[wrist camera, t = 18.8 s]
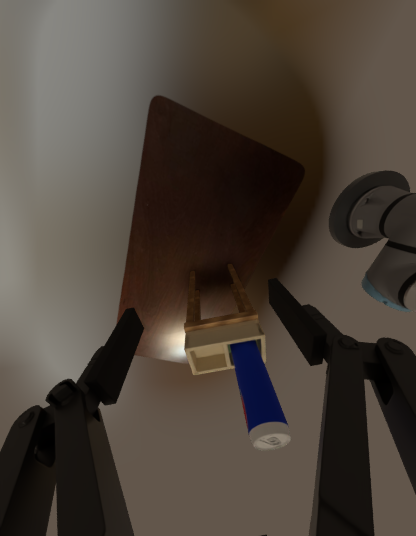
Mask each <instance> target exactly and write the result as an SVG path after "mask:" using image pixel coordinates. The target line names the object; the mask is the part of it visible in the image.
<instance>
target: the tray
mask: <svg viewBox="0 0 416 536" xmlns="http://www.w3.org/2000/svg"><path fill="white" fill-rule="evenodd" d="M250 340H255V341H256V344H257V346H258V349H259V351H260V354H261V357H262V359H263V362H264V363H266V348H265V334H264V332H263V330H262V327H261V325H260V323H259V321H258V319H256V320H251V321H245V322H240V323H234V324H229V325H223V326H218V327H212V328H207V329H201V330H196V331H190V332H186V335H185V348H184V350H185V352H186V355H187V358H188V361H189V364H190V366H191V369H192V372H193V375H197V374H203V373H209V372H214V371H220V370H225V369H232V368H235V367H234V362H233V357H232V353H231V348H230V344H233V343H239V342H244V341H250Z"/></svg>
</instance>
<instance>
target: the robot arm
mask: <svg viewBox="0 0 416 536" xmlns="http://www.w3.org/2000/svg"><path fill="white" fill-rule="evenodd" d="M346 225H347V229H348V231H349V232H350V233H351V234H352V235H354V236H357V237H360V238H389V240H388V242H387V243H386V244H385V246H384V247H383V249H382V250H381V252H380V253H379V255H378V256H377V258H376V259H375V261H374V262H373V264H372V265H371V267H370V268H369V269H368V271H367V272H366V274H365V277H364V278H363V280H362V287H363V289H364V290H365V291H366V292H367V293H368V294H369V295H370V296H371V297H373V298H375V299H376V300H377V301H379V302H383V303H384V304H385V305H387V306H389V307H391V308H394V309H397V310H400V311H405V312H410V311H413V312H416V193H410V192H407V191H405V190H402V189H399V188H396V187H394V186H377V187H374V188H371V189H369V190H367V191H366V192H364V193H363V194H361V195H360V196H359V197H358V198H357V199H356V200H355V202H354V203H353V204H352V206H351V208H350V210H349V212H348V215H347V220H346ZM268 286H269V303H270V305H271V306H272V308H273V309H274V311H275V312H276V313H277V315H278V317H279V318H280V320H281V322H282V323H283V325H284V326H285V328H286V329H287V331H288V332H289V334H290V335H291V337H292V338H293V340H294V341H295V343H296V345H297V346H298V348H299V349H300V351H301V352H302V354H303V355H304V357H305V358H306V360H307V361H308V363H309V364H310V366H313V365H319V364H322V362H323V358H324V359H325V361H326V362H327V363H328V366H327V371H326V374H327V375H326V385H325V394H324V403H323V413H322V422H321V432H320V442H319V451H318V461H317V470H316V480H315V489H314V498H313V508H312V516H311V522H310V530H309V536H374V524H373V509H372V495H371V494H372V493H371V478H370V463H369V448H368V433H367V417H366V401H365V386H364V379H367V380H370V382H371V384H372V387H373V389H374V392H375V394H376V397H377V399H378V402H379V404H380V407H381V409H382V412H383V414H384V417H385V419H386V422H387V424H388V427H389V429H390V432H391V434H392V437H393V439H394V441H395V444H396V447H397V449H398V452H399V454H400V457H401V459H402V462H403V464H404V467H405V469H406V472H407V474H408V477H409V479H410V482H411V484H412V486H413V489H414V491H415V494H416V356H415V354H414V353H413V351H412V350H411V349H410V348H409V347H408V346H407V345H405V344H403V343H402V342H400V341H397V340H395V339H391V338H380V339H378V341H377V343H365V342H358V341H356V340H355V339H354V338H352V337H350V336H347V335H343V334H342V333H341V332H340V331H339V330H338V329H337V328H336V327H335V326H334V325H333V324H332V323H330V321H328V320H327V319H326V318H325V317H324V316H323V315H322V314H321V313H320V312H319V311H318V310H317V309H316V308H315V307H313V306H311V305H309V304H308V305H303V306H301V305H300V303H299V302H298V301H297V300H296V299H295V298H294V297H293V296H292V295H291V294H290V293H289V291H288V290H287V289H286V288H285V287H284V286H283V285H282V284H281V283H280V282H279V281H278V279H277V278H274V279H270V280H268ZM143 330H144V327H143V325H142V323H141V321H140V319H139V317H138V315H137V313H136V311H135V309H134V308H129V309H126V310H125V312H124V313H123V315H122V317H121V319H120V320H119V322H118V324H117V325H116V327H115V329H114V330H113V332H112V334H111V336H110V337H109V339H108V341H107V342H106V344H105V346H102V347H100V348H99V349H98V350H97V351H96V353H95V354H94V355H93V357H92V358H91V361H90V362H89V363H88V366H87V367H86V368H85V370H84V372H83V373H82V375H81V376H80V378H79V380H78V381H77V383H76V384H75V382H74V381H73V380H72V379H67V380H63V381H62V382H60V383H58V384H57V385H56V386H55V387H54V388H53V389H52V390H51V391H50V392H49V394H48V395H47V397H46V402H48V403H49V404H50V406H48V407H46V408H44V409H43V408H42V407H40V406H39V405H36V406H33V407H31V408H29V409H28V410H27V411H25V412H24V413H23V414H22V415H20V416H19V417H18V419H17V420H16V421H15V422H14V424H13V425H12V427H11V429H10V431H9V433H8V436H7V438H6V440H5V442H4V445H3V447H2V449H1V451H0V536H46V532H47V526H48V521H49V516H50V511H51V506H52V500H53V496H54V490H55V485H56V491H57V528H58V536H134V533H133V529H132V525H131V522H130V518H129V514H128V511H127V507H126V503H125V500H124V496H123V492H122V489H121V485H120V481H119V478H118V474H117V470H116V467H115V463H114V459H113V456H112V452H111V448H110V444H109V441H108V437H107V433H106V430H105V426H104V423H103V419H102V415H101V411H100V409H99V408H98V406H99V404H100V401H101V402H102V403H103V404H104V405H110V404H115V403H116V402H117V399H118V397H119V394H120V391H121V388H122V386H123V383H124V381H125V378H126V375H127V373H128V370H129V367H130V365H131V362H132V359H133V356H134V354H135V351H136V349H137V346H138V343H139V341H140V338H141V335H142V333H143ZM262 536H267V535H262Z"/></svg>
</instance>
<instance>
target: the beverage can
mask: <svg viewBox="0 0 416 536" xmlns="http://www.w3.org/2000/svg"><path fill="white" fill-rule="evenodd" d="M230 348H231V353H232V357H233V362H234V367H235V371H236V376H237V381H238V386H239V390H240V395H241V400H242V405H243V409H244V414H245V419H246V423H247V428H248V433H249V437H250V438H251V441H252V443H253V446H254V447H255V448H256V449H258V450H274V449H278V448H281V447H283V446H285V445H286V444H288V443H289V442H290V433H289V426H288V424H287V421H286V419H285V416H284V414H283V411H282V408H281V406H280V403H279V401H278V398H277V396H276V393H275V390H274V388H273V385H272V382H271V380H270V378H269V375H268V372H267V370H266V367H265V364H264V362H263V359H262V357H261V354H260V351H259V349H258V346H257V344H256V341H255V340H250V341H244V342H239V343H233V344H230Z"/></svg>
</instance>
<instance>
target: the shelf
mask: <svg viewBox="0 0 416 536" xmlns="http://www.w3.org/2000/svg"><path fill="white" fill-rule="evenodd" d="M227 265H228V269H229V272H230V274H231V277H232V279H233V282H234V283H233V284H230V286H231V290H232V293H233V295H234V298H235V301H236V304H237V307H238V310H239V313H236V314H231V315H225V316H220V317H214V318H209V319H203V320H201V313H200V291H199V290H195V271H190V281H189V293H188V305H187V317H186V323H184V330H185V333H186V332H190V331H196V330H201V329H207V328H212V327H218V326H223V325H229V324H234V323H240V322H245V321H251V320H256V319H258V314H257V312H256V310H254V309H253V307H252V306H251V303H250V301H249V299H248V297H247V295H246V293H245V290H244V288H243V286H242V284H241V282H240V280H239V278H238V276H237V274H236V272H235V269H234V267H233V265H232V264H227ZM194 316H195V321H194Z"/></svg>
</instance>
